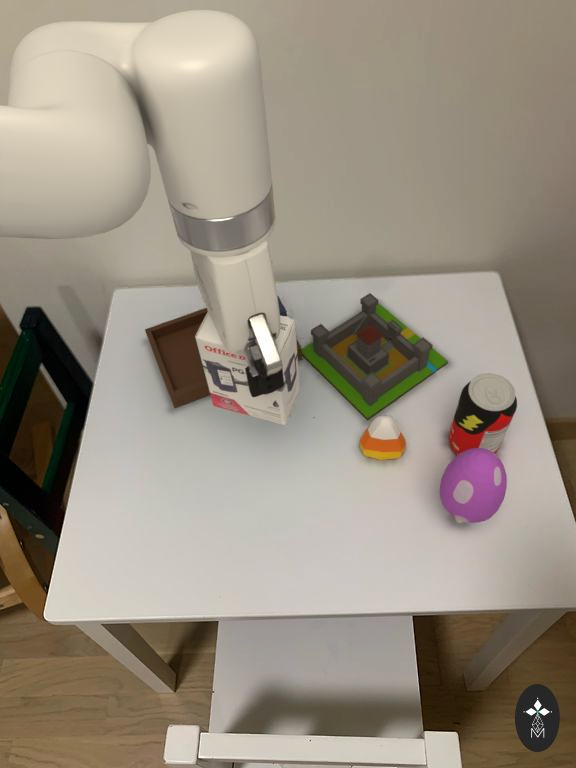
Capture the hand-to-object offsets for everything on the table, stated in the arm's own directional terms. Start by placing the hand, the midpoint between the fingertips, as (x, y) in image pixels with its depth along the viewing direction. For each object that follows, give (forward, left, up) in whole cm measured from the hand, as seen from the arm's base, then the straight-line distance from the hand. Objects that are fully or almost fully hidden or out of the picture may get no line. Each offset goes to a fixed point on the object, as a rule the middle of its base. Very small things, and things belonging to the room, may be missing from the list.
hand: (249, 352), depth 57 cm
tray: (+1, +21, -24) cm, 32 cm away
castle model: (+20, +10, -24) cm, 33 cm away
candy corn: (+14, -4, -24) cm, 28 cm away
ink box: (0, 0, -8) cm, 8 cm away
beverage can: (+25, -8, -24) cm, 35 cm away
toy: (+18, -16, -24) cm, 34 cm away
